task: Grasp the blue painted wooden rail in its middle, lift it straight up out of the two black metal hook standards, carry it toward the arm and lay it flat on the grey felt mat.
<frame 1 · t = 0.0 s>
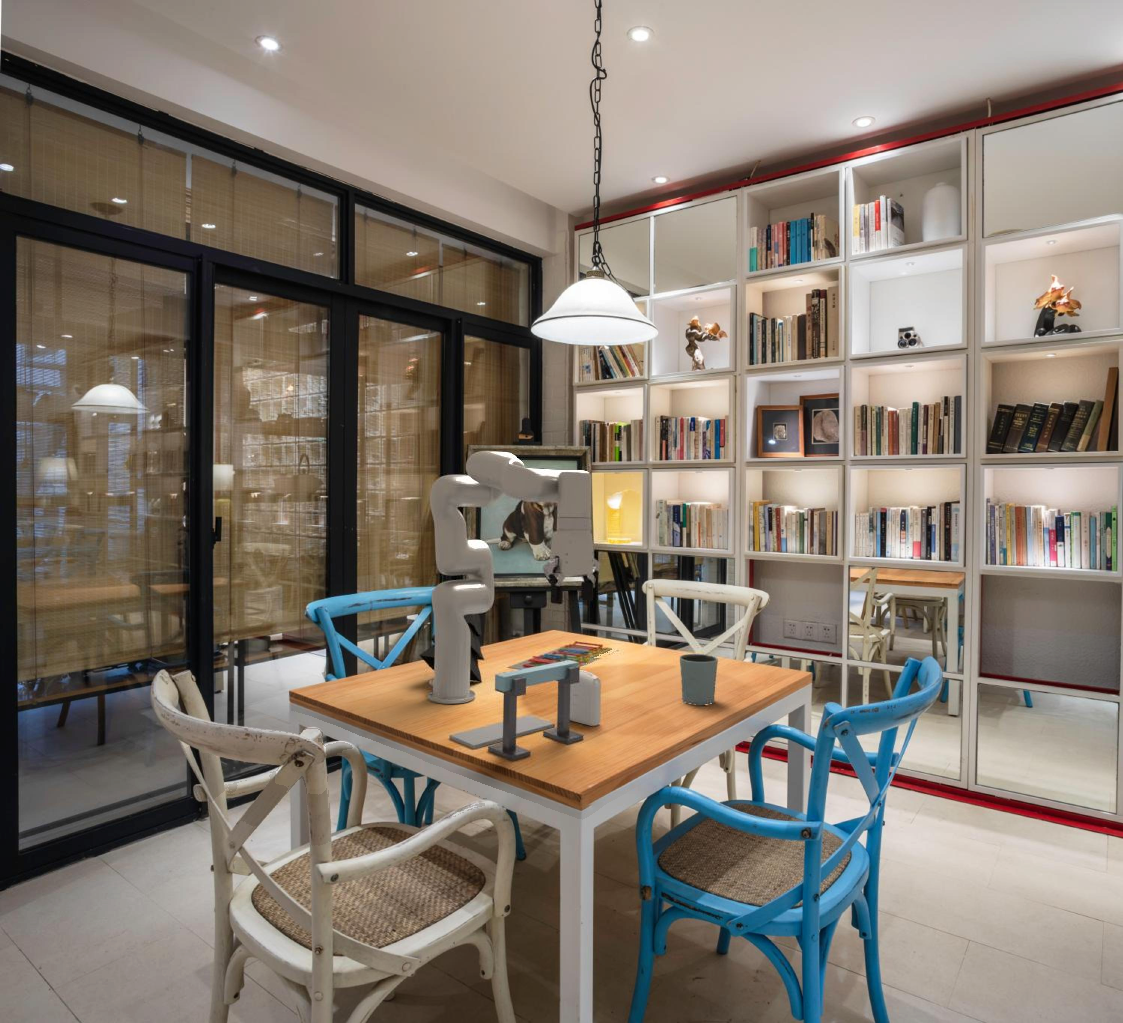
hand: (572, 601, 166), 31 cm above the table, tool pointing down, fingers open, 9 cm apart
rail: (538, 681, 163), point 14 cm above the table, touching hook standards
grey green cup: (697, 702, 201), on the table
photo printer: (581, 722, 181), on the table
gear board: (566, 660, 252), on the table
decorative tree: (460, 680, 220), on the table
hook standards: (537, 745, 163), on the table
felt mat: (503, 732, 171), on the table
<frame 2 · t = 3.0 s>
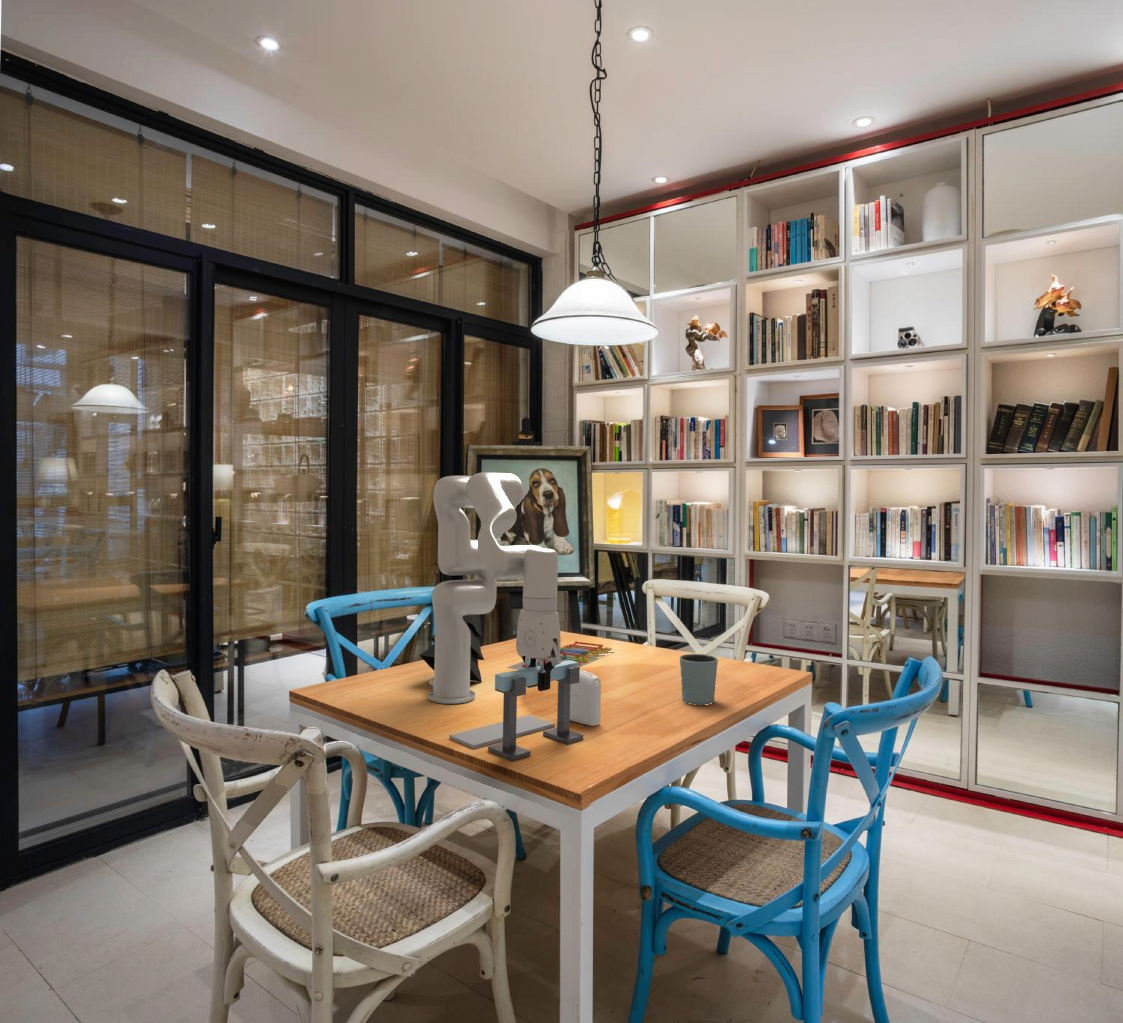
hand: (538, 687, 163), 13 cm above the table, tool pointing down, fingers closed on rail, 3 cm apart
rail: (538, 681, 163), point 14 cm above the table, touching gripper, hook standards
everything else where it was.
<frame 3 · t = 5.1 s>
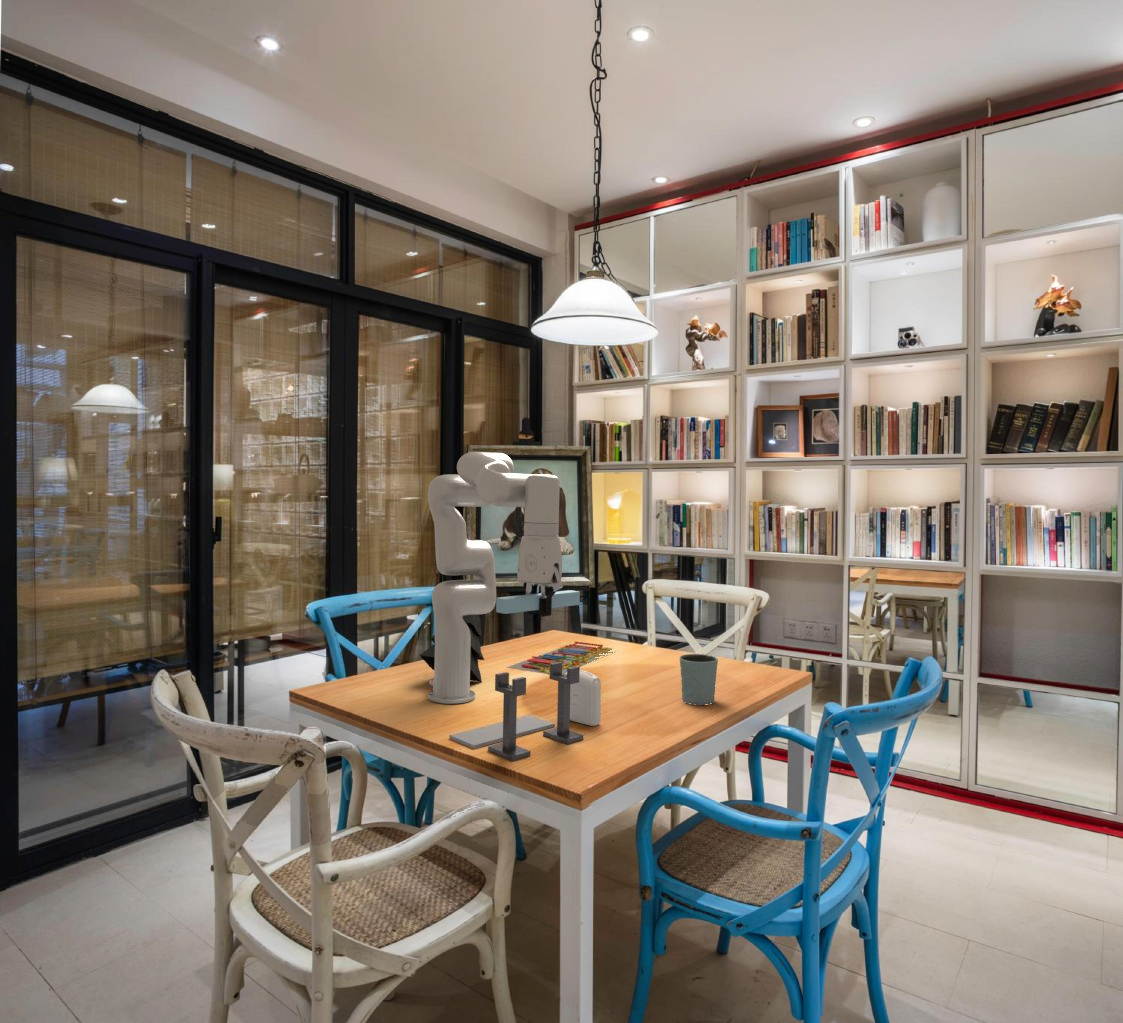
hand: (539, 614, 162), 29 cm above the table, tool pointing down, fingers closed on rail, 3 cm apart
rail: (539, 608, 162), point 30 cm above the table, touching gripper
everything else where it was.
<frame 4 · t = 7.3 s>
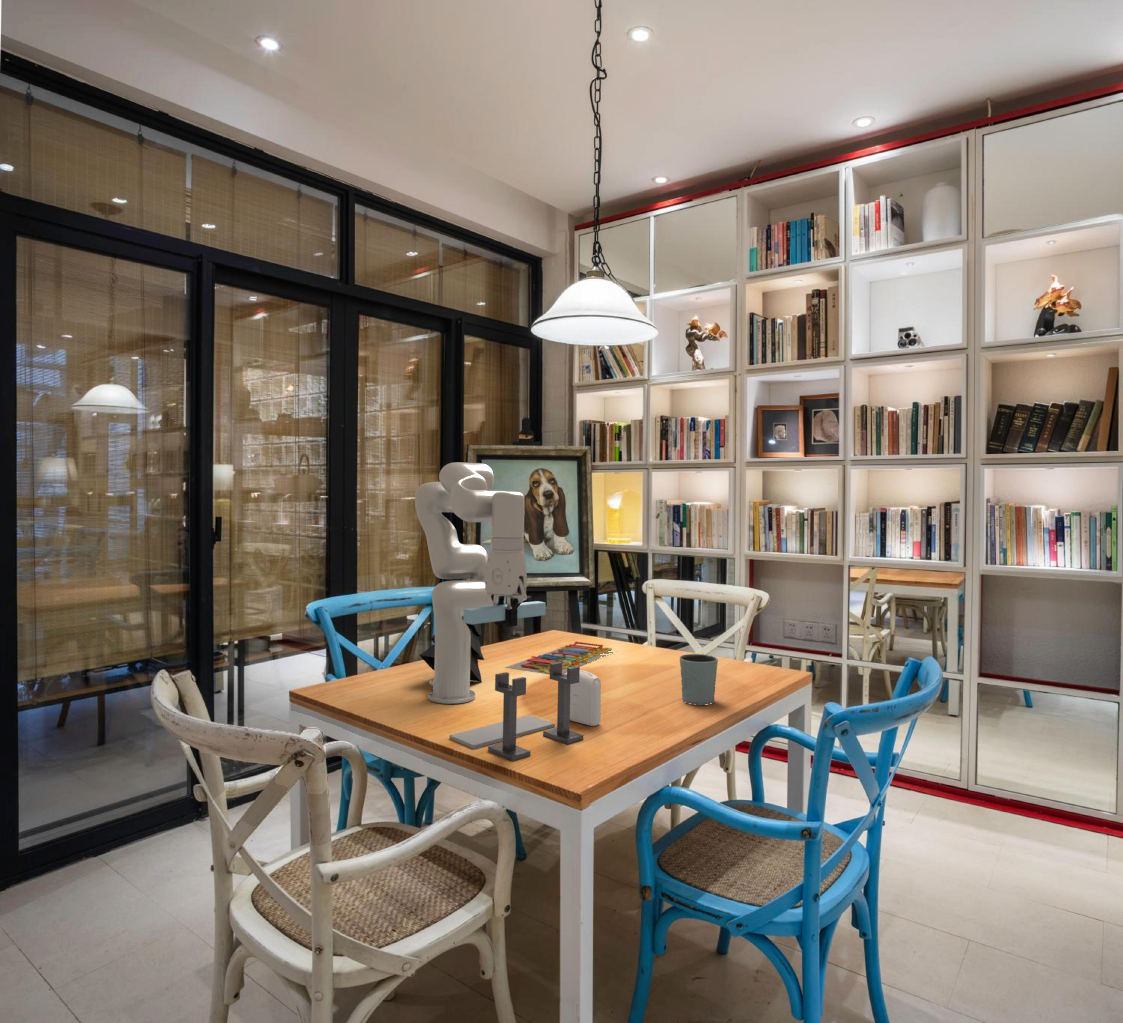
hand: (505, 624, 171), 25 cm above the table, tool pointing down, fingers closed on rail, 3 cm apart
rail: (506, 618, 170), point 26 cm above the table, touching gripper
everything else where it was.
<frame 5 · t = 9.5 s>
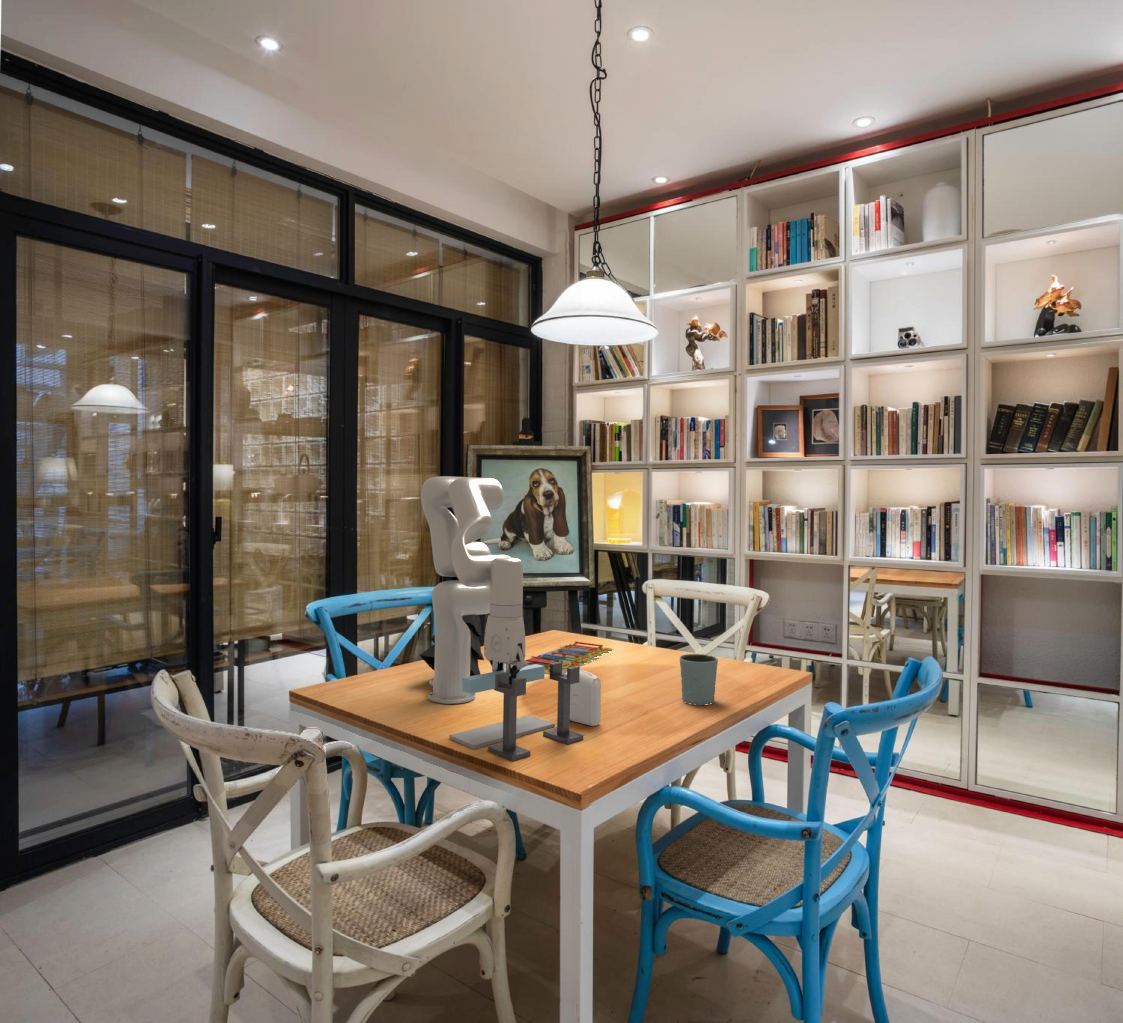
hand: (504, 690, 171), 10 cm above the table, tool pointing down, fingers closed on rail, 3 cm apart
rail: (504, 684, 171), point 11 cm above the table, touching gripper
everything else where it was.
when the fingers open (2 cm above the table, at t = 11.5 s): rail drops 3 cm, resting on felt mat.
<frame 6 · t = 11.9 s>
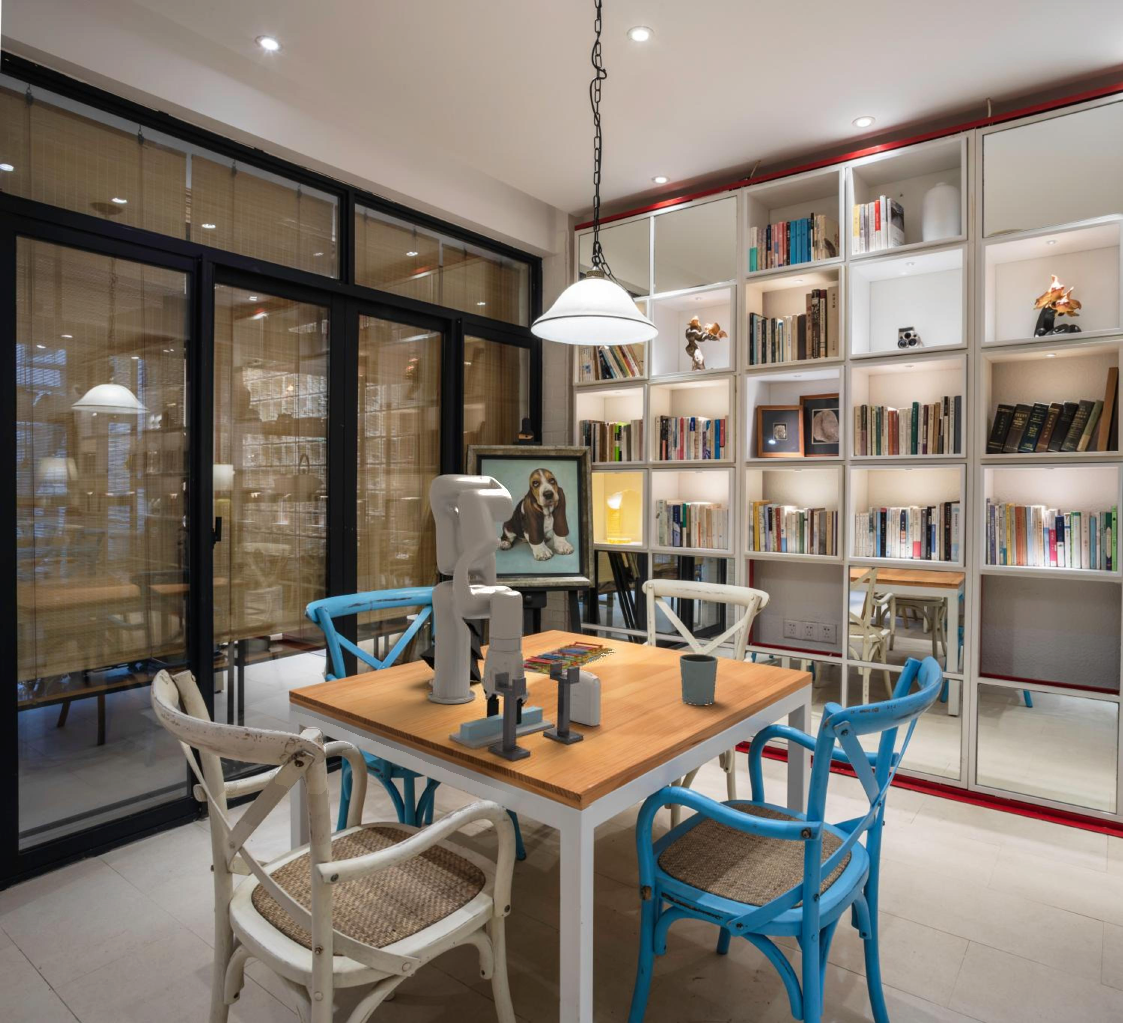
hand: (503, 720, 171), 3 cm above the table, tool pointing down, fingers open, 7 cm apart
rail: (502, 728, 171), point 1 cm above the table, touching felt mat
everything else where it was.
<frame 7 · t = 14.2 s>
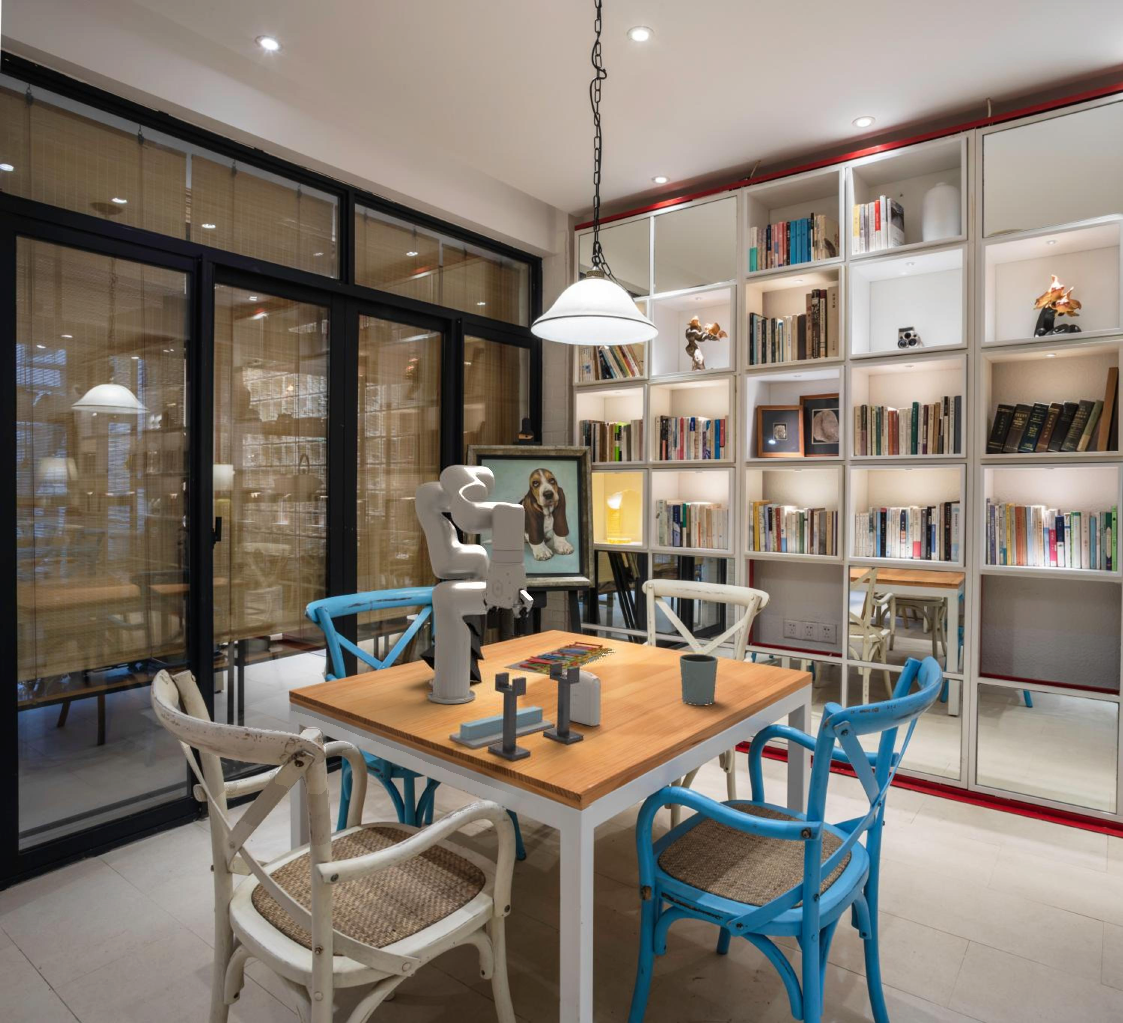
hand: (505, 631, 171), 23 cm above the table, tool pointing down, fingers open, 9 cm apart
nothing on the table moved.
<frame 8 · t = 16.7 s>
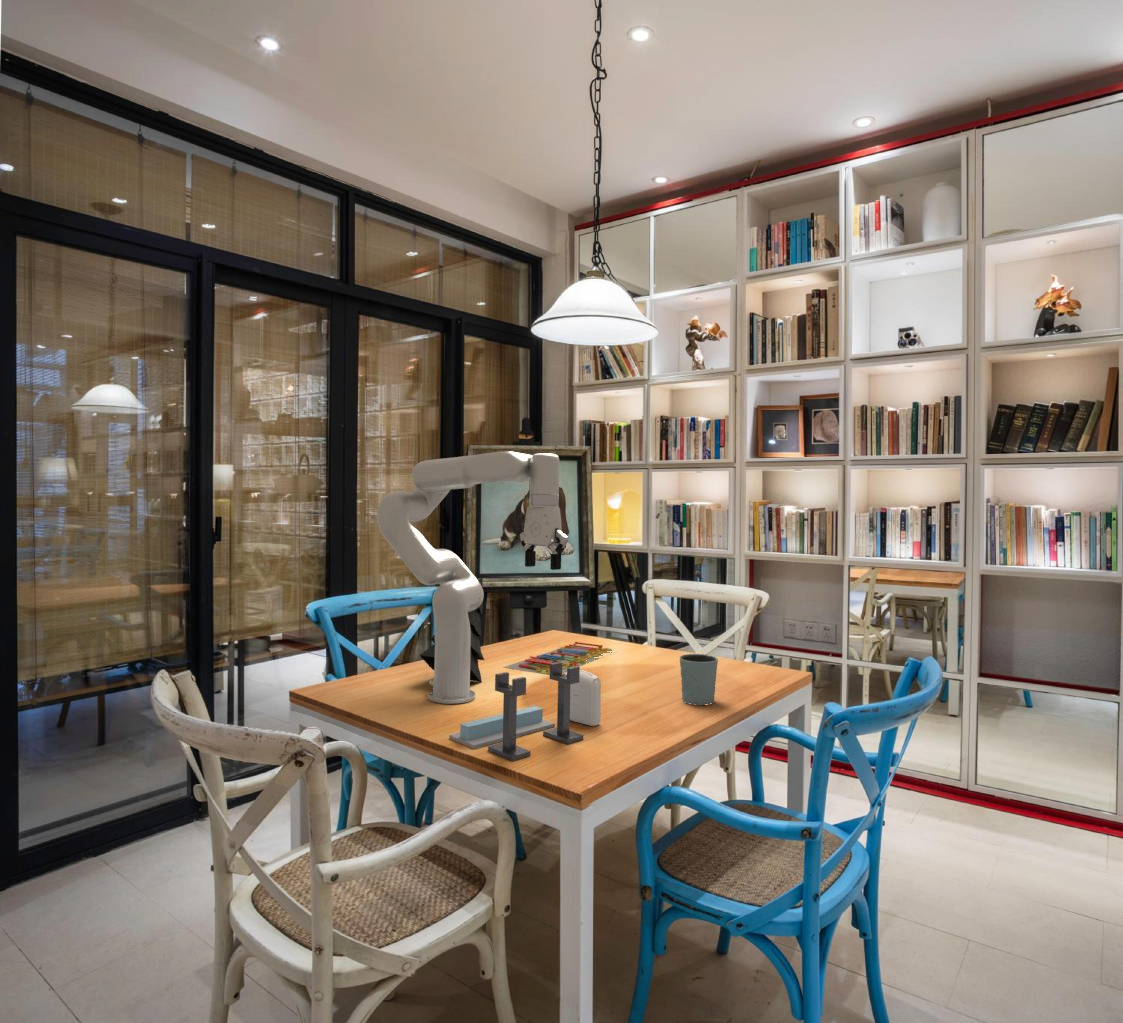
hand: (542, 567, 191), 36 cm above the table, tool pointing down, fingers open, 9 cm apart
at the end: rail 0.2 cm off-centre on the felt mat, point 0.8 cm above the felt mat's base; rail tilted 0°; the gripper is holding nothing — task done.
